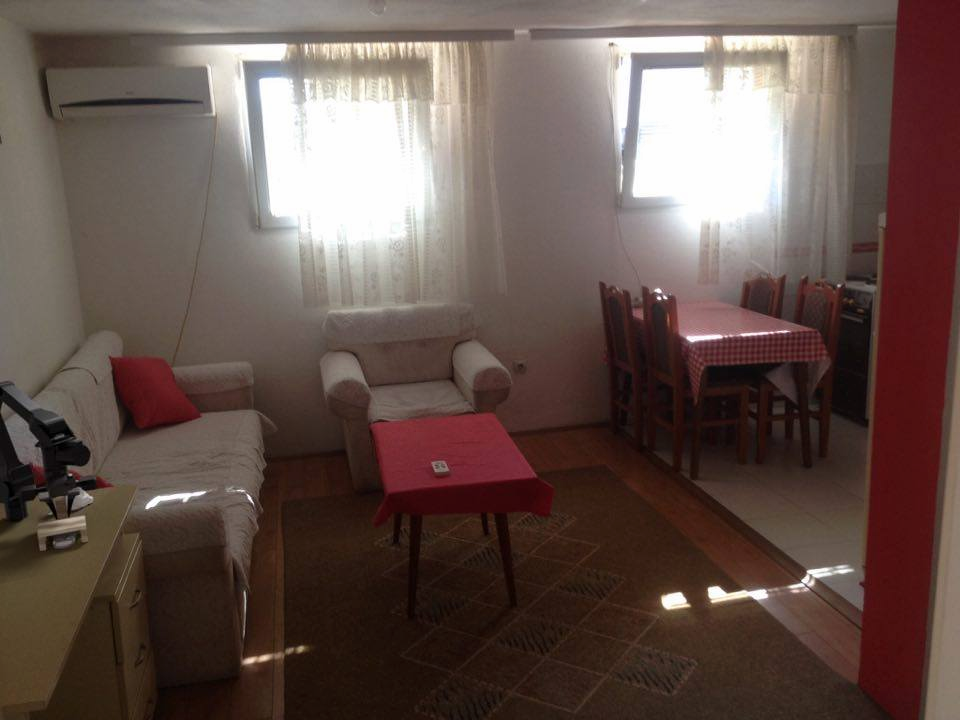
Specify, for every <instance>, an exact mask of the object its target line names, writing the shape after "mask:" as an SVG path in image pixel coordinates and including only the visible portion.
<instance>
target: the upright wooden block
mask: <svg viewBox="0 0 960 720" xmlns="http://www.w3.org/2000/svg"><path fill="white" fill-rule="evenodd" d="M54 504H55V505H56V510H57V517H58V520H61V519H67V518H68V513H67V505H66V498H65V496H64V497H57V498H54ZM62 536H74V537H75V540H76V539H77V535H76V531H72V532H67V533H61V534H56V535H52V541H53V540H54V539H56V538H59V537H62Z"/></svg>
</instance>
